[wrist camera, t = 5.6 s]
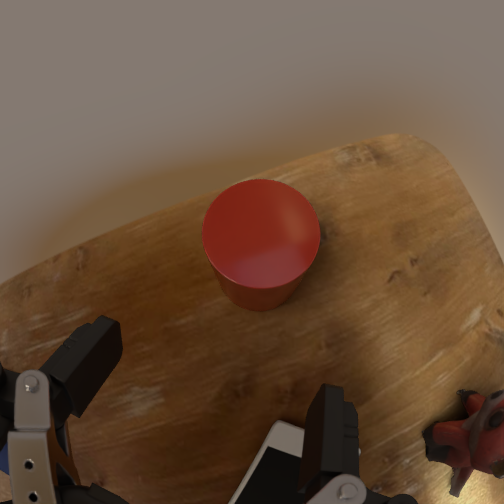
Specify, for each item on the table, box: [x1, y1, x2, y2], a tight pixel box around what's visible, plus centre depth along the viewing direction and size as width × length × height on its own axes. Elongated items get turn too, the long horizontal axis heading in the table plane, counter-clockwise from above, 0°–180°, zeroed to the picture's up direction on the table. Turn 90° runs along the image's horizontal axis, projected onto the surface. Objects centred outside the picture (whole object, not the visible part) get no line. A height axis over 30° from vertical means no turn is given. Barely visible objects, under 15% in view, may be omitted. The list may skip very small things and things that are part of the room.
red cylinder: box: [202, 179, 320, 311], centre depth 20 cm, size 6×6×8 cm
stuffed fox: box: [422, 389, 504, 497], centre depth 13 cm, size 8×11×12 cm
